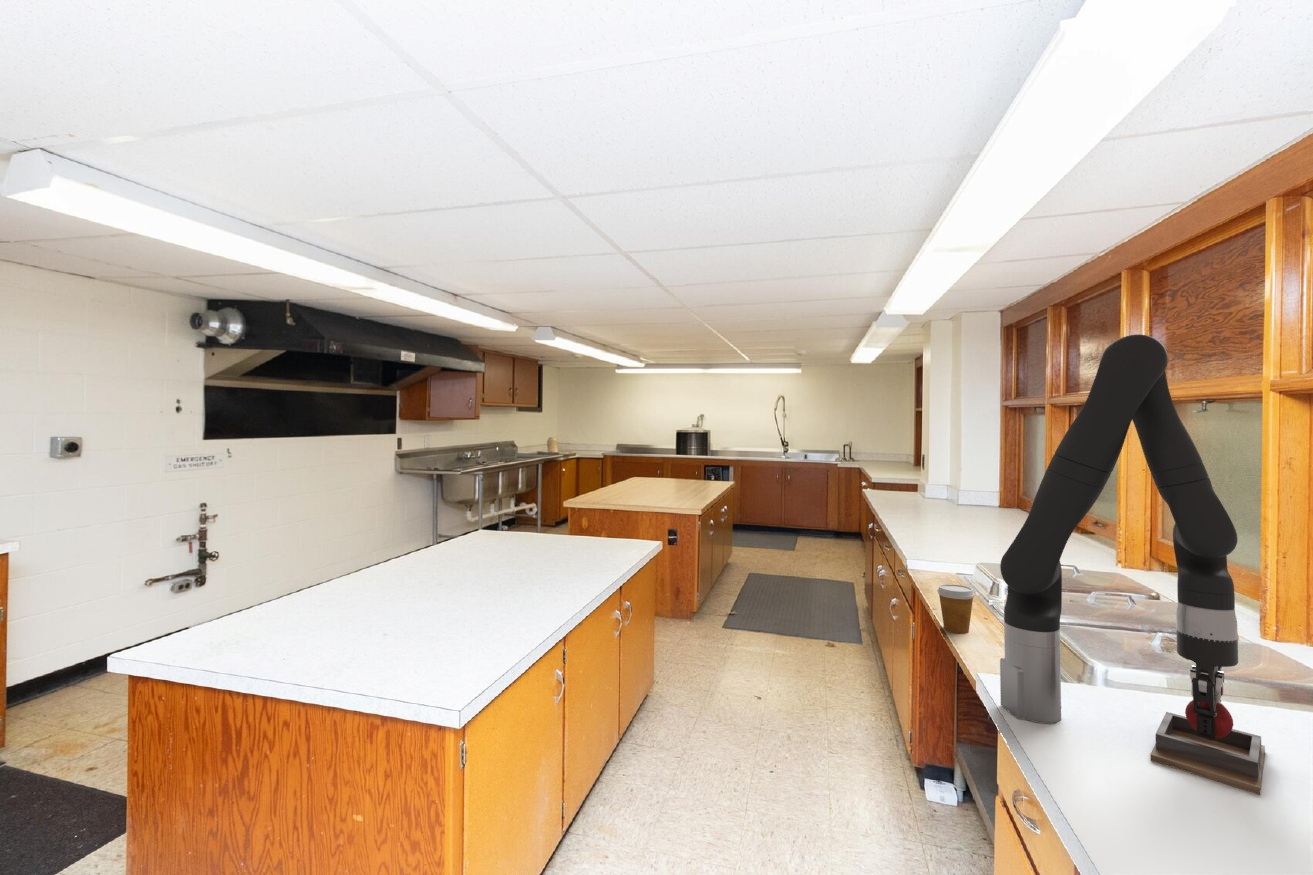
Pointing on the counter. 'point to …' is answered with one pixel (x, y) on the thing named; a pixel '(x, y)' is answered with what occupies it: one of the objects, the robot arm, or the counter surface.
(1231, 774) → the pocket board
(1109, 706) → the counter surface
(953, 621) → the disposable coffee cup
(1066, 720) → the counter surface
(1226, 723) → the onion
